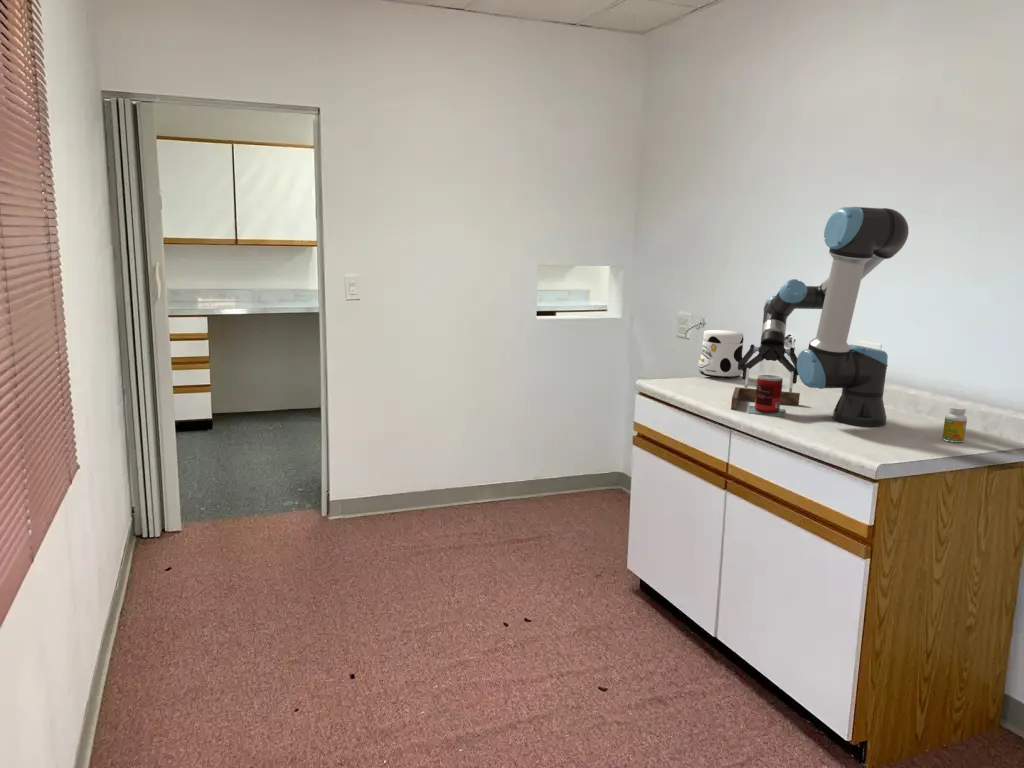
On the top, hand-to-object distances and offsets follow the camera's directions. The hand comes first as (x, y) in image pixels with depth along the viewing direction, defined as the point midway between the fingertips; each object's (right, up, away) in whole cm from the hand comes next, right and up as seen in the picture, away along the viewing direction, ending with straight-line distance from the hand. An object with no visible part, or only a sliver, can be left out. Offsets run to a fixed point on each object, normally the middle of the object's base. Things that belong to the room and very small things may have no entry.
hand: (768, 388), depth 244 cm
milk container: (+1, +4, +62) cm, 62 cm away
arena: (+2, -6, +7) cm, 10 cm away
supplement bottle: (+43, -15, -27) cm, 53 cm away
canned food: (0, -7, +2) cm, 7 cm away
